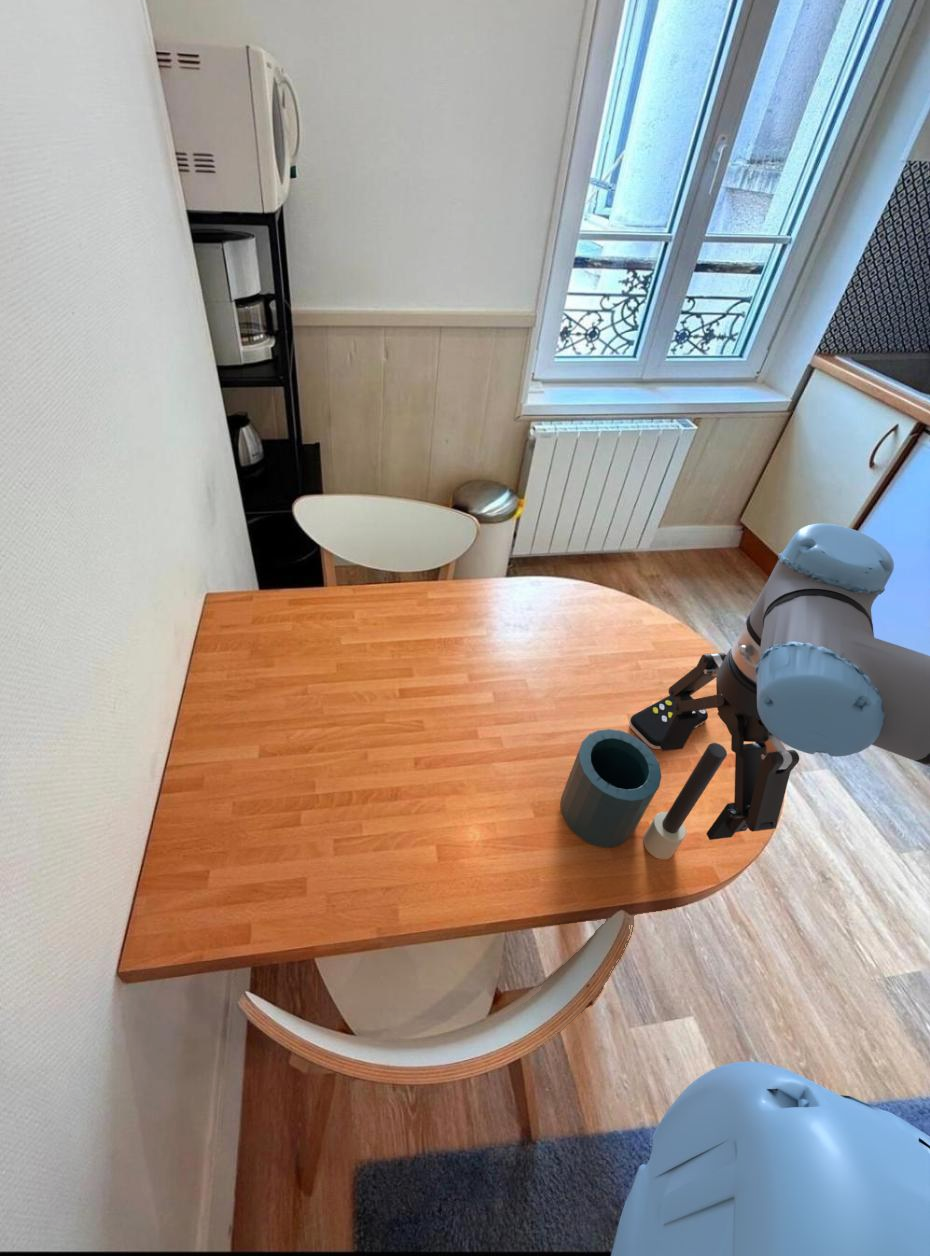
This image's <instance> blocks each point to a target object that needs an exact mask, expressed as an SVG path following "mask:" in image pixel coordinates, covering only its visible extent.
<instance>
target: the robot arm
mask: <svg viewBox="0 0 930 1256" xmlns="http://www.w3.org/2000/svg"><path fill="white" fill-rule="evenodd" d="M777 557H778V560H777V562H776V564H775V566H774V568H773V570H772V571H771V574H770V576H769V578H768V580H767V581H766V583H765V585H764V587H763V588H762V591H760V594H759V597H758V598H757V600H756V602H755V604H754V605H753V606H752V609H751V611H750V612H749V615H748V616H747V618H746V620H745V621H744V623H743V625H742V627H741V629H740V631H739V633H737V634H738V635H737V636H736V638H735V640H734V642H733V644H732V645H731V648H729V650H728V652H727V653H725V652H718V653H706V654H701V656H700V658H699V661H698V662H697V665H696V666H695V667H693V668H692V669H691V670H690V671H689V672H687V673H686V674H684V675H683V676H682V677H681V678H680V679H678V680H677V681H676V682H674V683H673V684H671V686H670V687H669V688H668V694H669V695H670V696H671V697H674V698H675V701H676V702H675V703H674V709H675V710H674V712H673V714H672V716H671V718H670V721H669V724H670V727H669V729H668V731H667V733H666V735H665V737H664V739H663V741H662V743H661V745H660V747H661V751H662V752H667V751H677V750H678V751H679V750H683V749H684V747H685V745H686V743H687V742H688V740H689V738H690V736H691V734H692V733H693V731H694V730H695V729H694V727H695V726H696V724H697V722H698V720H699V718H700V717H699V716H698V714H697V713H692V712H693V711H698V710H704V709H705V710H711V709H712V710H713V709H717V715H718V717H719V719H720V720H721V721H722V723H724V724H725V727H726V729H727V730H728V732H729V734H730V736H731V737H730V738H731V740H730V741H731V745H730V749H731V751H732V752H733V753H735V755H734V756H735V757H734V758H735V760H734V802H729V803H728V802H727V803H726V805H725V806H724V807H723V808H722V811H721V812H720V814H719V815H718V816H717V817H716V819H715V820H714V821H713V823H712V825H711V826H710V827H709V828H708V830H707V831H706V836H707V838H708V840H709V841H715V840H720V839H729V838H732V837H733V836H734V835H735V833H740V832H746V831H747V830H749V831H750V832H752V833H753V832H760V831H761V832H762V831H767V830H775V829H776V828H777V826H778V822H779V818H780V814H781V810H782V806H783V803H784V798H785V794H786V790H787V787H788V783H789V779H790V775H791V772H792V771H793V770H794V768H795V767H796V766H797V765H798V763H799V762H800V755H799V753H798V752H797V751H799V752H802V753H805V754H808V755H815V753H820V754H828V756H830V757H833V758H835V757H836V758H838V757H847V756H851V755H854V754H858V753H861V752H862V751H864V750H866V749H868V748H870V747H871V746H874V747H877V748H879V749H882V750H885V751H887V752H890V753H892V754H894V755H898V756H901V757H903V758H905V759H909V760H912V761H914V762H916V763H918V764H919V763H920V764H922V765H924V766H927V767H930V655H928V654H925V653H923V652H919V651H916V650H913V649H909V648H907V647H904V646H901V645H898V644H895V643H891V642H889V641H886V640H883V639H880V638H876V637H875V633H874V624H873V616H872V606H873V604H874V602H875V601H876V599H877V598H878V596H879V595H882V594H883V593H884V592H885V591H886V589H885V587H886V585H887V584H888V581H889V580H890V578H891V576H892V575H893V572H894V568H895V563H894V559H893V557H892V555H891V553H890V552H889V550H887V548H885V547H884V546H883V545H882V544H881V543H880V542H879V541H877V539H874V538H873V537H872V536H869V535H867V534H865V533H863V532H861V531H859V530H857V529H853V528H851V527H846V526H843V525H839V524H833V523H813V524H808V525H806V526H803V527H801V528H800V529H798V530H797V531H795V533H794V535H793V536H792V537H791V539H790V541H789V542H788V544H787V545H786V547H785V548H784V549H783V551H782V552H779V554H778V556H777ZM713 680H715V683H716V685H715V687H716V694H712V695H707V696H703V697H698V698H693V699H691V697H692V695H693V694H695V693H697V692H698V691H699V690H701V689H702V688H703V687H705V686H706V685H707V684H709V683H710V682H712V681H713ZM669 695H668V696H669ZM693 729H694V730H693ZM746 742H749V743H746ZM784 745H786V746H788V747H790V748H792V749H788V750H787V748H786V746H784ZM796 750H797V751H796ZM610 1256H930V1136H929V1135H928V1134H927V1133H925V1132H924V1131H922V1130H921V1129H919V1128H917V1127H915V1126H914V1125H913V1124H911V1123H909V1122H907V1120H904V1119H903V1118H901V1117H899V1116H898V1115H896V1114H894V1113H892V1112H891V1111H887V1110H884V1109H881V1108H878V1107H876V1106H872V1105H870V1104H868V1103H865V1102H863V1101H861V1100H859V1099H858V1098H856V1097H853V1096H850V1095H845V1094H844V1095H842V1094H839V1093H837V1092H835V1091H833V1090H831V1089H828V1088H826V1087H825V1086H822V1085H820V1084H819V1083H818V1082H817V1083H816V1082H815V1081H812V1080H811V1079H809V1078H807V1077H805V1076H803V1075H802V1074H799V1073H797V1072H794V1071H792V1070H790V1069H787V1068H784V1067H782V1066H779V1065H775V1064H771V1063H767V1062H759V1061H751V1060H748V1061H747V1060H746V1061H736V1062H731V1063H727V1064H723V1065H720V1066H717V1067H715V1068H712V1069H711V1070H708V1071H706V1073H704V1074H703V1075H701V1076H699V1077H698V1078H696V1079H695V1080H694V1081H692V1083H690V1084H689V1085H688V1086H687V1087H686V1088H685V1089H684V1090H683V1091H682V1092H681V1093H680V1095H679V1096H678V1097H677V1098H676V1099H675V1100H674V1102H672V1104H671V1105H670V1107H669V1108H668V1109H667V1111H666V1112H665V1114H664V1115H663V1117H662V1118H661V1120H660V1121H659V1123H658V1125H657V1127H656V1129H655V1130H654V1132H653V1134H652V1141H651V1153H650V1156H649V1160H648V1161H647V1163H645V1164H644V1163H642V1164H641V1165H640V1166H638V1168H637V1171H636V1173H635V1174H634V1177H633V1179H632V1181H631V1184H630V1186H629V1189H628V1193H627V1195H626V1198H625V1202H624V1204H623V1208H622V1212H621V1215H620V1219H619V1221H618V1226H617V1229H616V1231H615V1236H614V1240H613V1243H612V1249H611V1253H610Z"/></svg>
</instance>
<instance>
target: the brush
mask: <svg viewBox="0 0 930 1256" xmlns="http://www.w3.org/2000/svg"><path fill="white" fill-rule="evenodd" d="M727 756H728V751H727V750H726V748H725V747H724V745H722V744H720V743H718V742H710V743H709V744H708V746H707V747H706V749H705V750H704V752H703V753H702V756H701V757H700V759H699V760H698V762H697V764H696V765H695V767H694V768H693V771H691V774H690V775H689V777H688V778H687V780H686V782H685V784H684V785H683V787H682V788H681V789H680V792H679V793H678V795H677V797H676V799H675V800H674V801H673V803H672V805H671V807H670V808H669V810H668V811H660V812H658V813H656V814H655V816H654V818H653V820H652V821H651V823H650V825H649V826H648V828H647V830H646V832H645V833H644V835H643V839H642V840H643V845H644V848H645V849H646V851H647V852H648V854H650V855H651V856H652V857H654V858H655V859H658V860H668V859H670V858H672V857H673V856H674V855H675V853H676V851H677V849H678V848H679V847H680V846H681V844H682V842H683V840H684V839H685V837H686V835H687V828H686V825H685V823H684V822H685V821H686V820H687V818H688V816H689V815H690V813H691V812H692V810H693V808H694V807H695V806H696V804H697V802H698V801H699V800H700V798H701V797H702V794H703V793H704V792H705V790H706V788H707V787H708V785H709V784H710V782H711V781H712V779H713V777H714V776H715V774H717V771H718V770H719V768H720V767H721V765H722V763H723V762H724V760H725V759H726V758H727Z"/></svg>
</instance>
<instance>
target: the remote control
mask: <svg viewBox="0 0 930 1256" xmlns="http://www.w3.org/2000/svg"><path fill="white" fill-rule="evenodd" d="M691 699H694V698H693V697H692V696H691ZM675 702H676V701H675V698H674V697H671V696H670V695H668V696H666V697H664V698H662V699H660V700H659V701H656V702H655V703H653V704H651V705H649V706H647V707H645V708H644V709H642V710H639V711H638V712H636V713H634V714H633V715H632V716H631V717H630V719H629V721H628V722H629V724H628V725H629V728H630V729H631V730H632V731H633V732H634V734H636V735H637V736H638V737H639V738H640V740H641V741H642V742H643V743H645V744H646V745H647V746H648V748H651V749H653V750H660V749H661V747H660V745H661V743H662V741H663V739H664V737H665V735H666V733H667V731H668V729H669V727H670V724H669V721H670V718H671V716H672V714H673V712H674V710H675V709H674V703H675ZM692 713H697V714H698V716H699V717H700V718H699V720H698V722H697V724H696V726H695V727H694V729H693V731H694V730H695V729H697V728H699V727H701V725H704V724H705V723H706V722H707V720H708V718H709V714H708V711H707V709H704V710H698V711H693V712H692ZM661 750H662V749H661Z"/></svg>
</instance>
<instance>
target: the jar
mask: <svg viewBox="0 0 930 1256" xmlns="http://www.w3.org/2000/svg"><path fill="white" fill-rule="evenodd" d="M661 781H662V770H661V765H660V763H659V760H658V759H657V757H656V754H655V753H654V752H653V751H652V749H650V747H649V746H648V745H647V744H646V743H645V742H644V741H643V740H641V739H639V738H638V737H636V736H635V735H633V734H631V733H628V732H625V731H623V730H618V729H613V728H608V729H607V728H606V729H598V730H595V731H593V732H591V733H589V734H588V735H587V736H586V737H585V738H584V739H583V740H582V741H581V744H580V746H579V749H578V752H577V754H576V757H575V760H574V762H573V764H572V768H571V770H570V773H569V775H568V778H567V780H566V783H565V786H564V789H563V792H562V794H561V797H560V809H561V814H562V817H563V819H564V821H565V823H566V825H567V826H568V828H569V829H570V831H572V833H573V834H575V835H576V836H577V837H578V838H580V839H581V840H582V841H584V842H586V843H588V844H589V845H591V846H595V847H599V848H605V849H607V848H615V847H619V846H621V845H623V844H625V843H626V842H627V841H628V840H629V839H630V838H631V837H632V835H633V833H635V831H636V829H637V827H638V826H639V824H640V822H641V820H642V818H643V816H644V815H645V813H646V811H647V810H648V807H649V806H650V805H651V802H652V801H653V798H654V797H655V795H656V793H657V791H658V789H660V785H661Z"/></svg>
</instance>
